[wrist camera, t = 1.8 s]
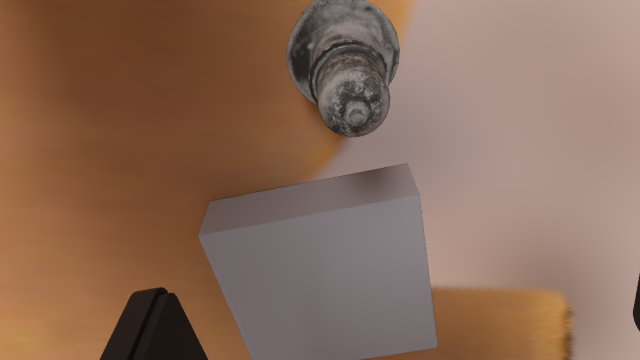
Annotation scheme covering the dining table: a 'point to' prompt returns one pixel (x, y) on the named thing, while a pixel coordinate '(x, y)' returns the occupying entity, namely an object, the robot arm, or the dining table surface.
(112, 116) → the dining table surface
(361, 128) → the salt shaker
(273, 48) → the dining table surface
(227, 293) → the stand
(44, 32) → the dining table surface
